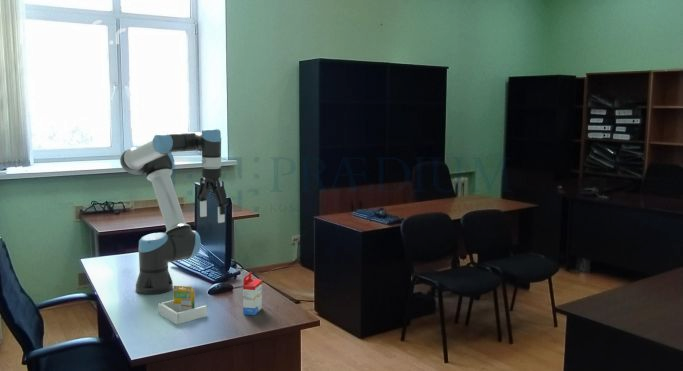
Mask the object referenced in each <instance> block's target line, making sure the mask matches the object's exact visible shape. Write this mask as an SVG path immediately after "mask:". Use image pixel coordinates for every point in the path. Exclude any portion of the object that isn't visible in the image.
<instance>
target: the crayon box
mask: <svg viewBox="0 0 683 371" xmlns="http://www.w3.org/2000/svg"><path fill="white" fill-rule="evenodd" d="M195 296H196V295H195V289H193V288H192V286H183V285H173V300H174V311H176V312H177V313H178V312H182V311H186V310H189V309H193V308H196V307H195V305H196V304H195V302H196V301H195V300H196V299H195Z"/></svg>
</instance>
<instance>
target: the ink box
mask: <svg viewBox="0 0 683 371" xmlns="http://www.w3.org/2000/svg"><path fill="white" fill-rule="evenodd" d="M242 281H243V283H242V284H243V285H242V313H243V315H246V316H256V315H257V314H258V313H259V312H260V311H261V310H262V309H263V306H262V304H263V280H262V279H258V278H252V271H250V272H249V273H247V274H246V275H245V276H244V277H243V279H242Z"/></svg>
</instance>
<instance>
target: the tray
mask: <svg viewBox="0 0 683 371" xmlns="http://www.w3.org/2000/svg"><path fill="white" fill-rule="evenodd" d="M157 305H158V315H161V316H162V317H164V318H166V319H167V320H169V321H170V322H172V323H173V324H175V325H180V324H184V323H186V322H187V321H188V322H190V321H191V322H192V321H194V320H198V319H202V318H206V317H207V316H208V306H207V305H205V304H204V305H202V306H198V307H195V308H193V309H189V310H186V311H182V312H178V313H177V312H176V311H174V299H170V300H167V301H163V302H159V303H158V304H157Z"/></svg>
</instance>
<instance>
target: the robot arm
mask: <svg viewBox="0 0 683 371" xmlns="http://www.w3.org/2000/svg"><path fill="white" fill-rule="evenodd" d="M221 135H222V133H221V130H220V129H218V128H203V129H201V132H199V131H188V132H172V133H171V132H169V133H168V132H166V133H165V132H163V133H156V134H155V135H154V137H153V138H152V140H151V141H148V142H146V143H144V144H142V145H141V146H138V147H130V148H128V149H126V150H125V151H124V152H122V154H120V158H119V162H120V165H121V168H122V169H123V170H124V171H125V172H127V173H129V174H131V175H145V177H146V179H147V181H149V182H151V184H152V188H153V191H154V195H155V197H156V200H157V203H158V206H159V210H160V213H161V215H162V219H163V223H164V225H165V228H166V229H165V230H166V231H165V232H153V233H149V234H146V235H143V236H141V238H140V239H139V240H138V250H137V251H138V264H139V274H138V276H137V279H136V282H135V291H136V292H137V293H139V294H142V295H158V294H159V295H160V294H164V293H167V292H169V291H171V290H173V289H174V285H173V284H174V282H173V279H172V276H171V274H170V272H169V263H172V262H177V261H182V260H188V259H191V258H195V257H197V255H199V253H200V249H201V246H202V245H201V244H202V242H201V236H200V234H199V232H197V230H193V229H192V227H191V225H190V224H188V223H187V222H186V220H185V217H184V214H183V210H182V207H181V205H180V201H179V199H178V195H177V192H176V189H175V185H174V184H173V181H172V177H171V176H172V175H173V171H174V169H175V158H174V155H173V154H172V153H178V152H179V153H181V152H182V153H183V152H201V166H202V168H201V177H200V180H199V185H198V190H197V193H196V199H197V200H198V201H199V216H200V218H203V217H207V216H208V213H207V209H208V207H207V201H208V200H207V198H208V195H209V193H210V191H211V192H212V193H213V195H214V197H215V199H216V201H217V204H218V205H217V223H218V224H222V223H225V222H226V221H225V220H226V218H225V217H226V206H228V205H229V201H228V196H227V193H226V189H225V184H224V183H225V182H224V181H223V180H222V181H221V180H220V178H221V177H222V168H221V167H222V136H221Z"/></svg>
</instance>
